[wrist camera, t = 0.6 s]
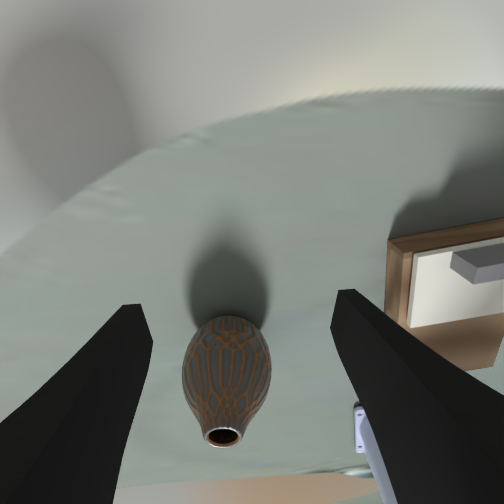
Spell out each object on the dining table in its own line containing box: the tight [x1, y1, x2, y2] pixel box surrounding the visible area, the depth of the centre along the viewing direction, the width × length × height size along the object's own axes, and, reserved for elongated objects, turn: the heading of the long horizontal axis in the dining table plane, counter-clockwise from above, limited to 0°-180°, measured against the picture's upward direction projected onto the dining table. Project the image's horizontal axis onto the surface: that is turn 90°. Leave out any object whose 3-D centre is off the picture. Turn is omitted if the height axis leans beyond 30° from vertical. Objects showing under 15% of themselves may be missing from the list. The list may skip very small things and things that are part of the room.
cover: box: [407, 237, 504, 328], centre depth 17 cm, size 6×8×2 cm
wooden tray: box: [384, 218, 504, 371], centre depth 21 cm, size 14×9×2 cm, turn 11°
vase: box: [182, 316, 272, 448], centre depth 20 cm, size 7×7×9 cm
